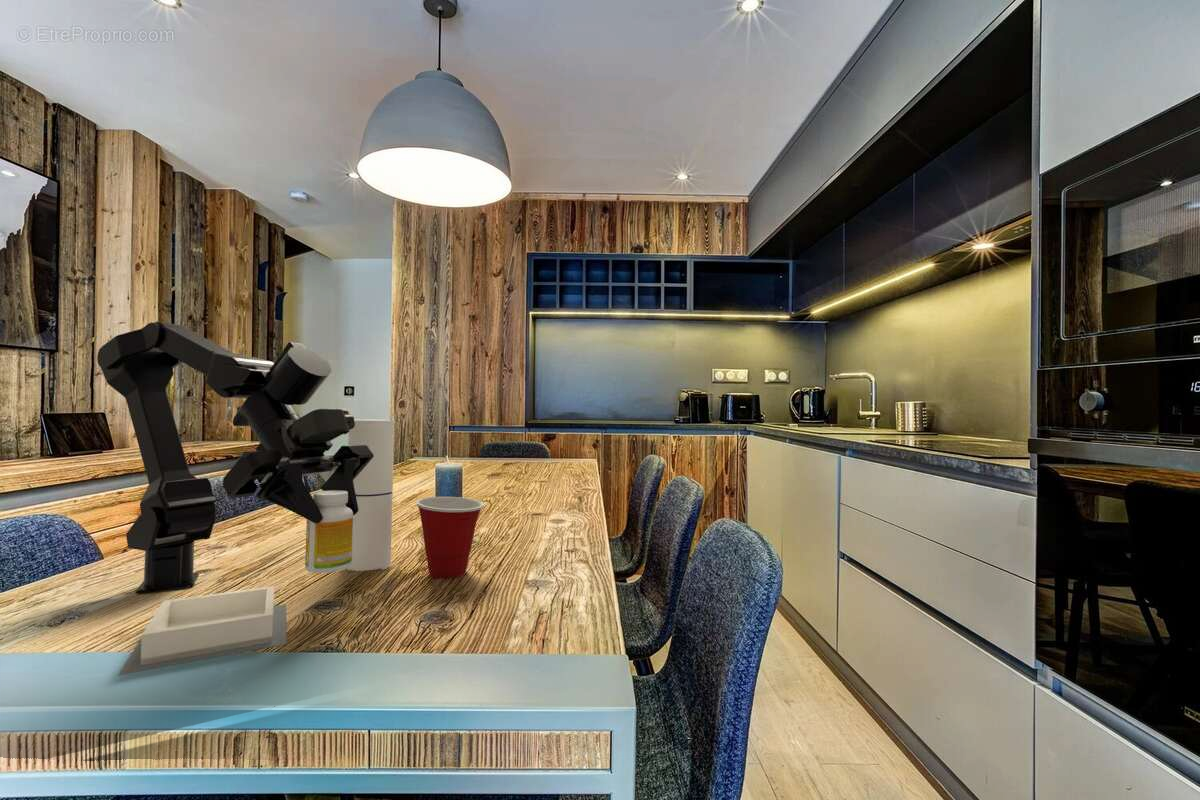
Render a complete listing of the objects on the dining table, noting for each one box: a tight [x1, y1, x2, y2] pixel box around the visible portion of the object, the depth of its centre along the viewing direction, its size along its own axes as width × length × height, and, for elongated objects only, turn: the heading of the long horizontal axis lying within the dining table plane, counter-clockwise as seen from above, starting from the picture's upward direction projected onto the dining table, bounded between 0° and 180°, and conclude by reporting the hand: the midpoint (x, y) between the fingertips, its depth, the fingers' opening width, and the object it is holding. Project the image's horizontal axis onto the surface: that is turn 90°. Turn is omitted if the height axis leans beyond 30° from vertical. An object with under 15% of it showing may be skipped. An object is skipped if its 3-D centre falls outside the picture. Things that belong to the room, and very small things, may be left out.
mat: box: [117, 604, 288, 676], centre depth 60 cm, size 14×14×1 cm
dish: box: [141, 585, 275, 665], centre depth 60 cm, size 11×11×3 cm
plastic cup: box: [416, 496, 485, 579], centre depth 86 cm, size 11×11×12 cm
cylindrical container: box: [344, 419, 395, 572], centre depth 89 cm, size 7×7×25 cm
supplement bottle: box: [304, 490, 353, 574], centre depth 68 cm, size 5×5×10 cm
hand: (338, 517), depth 68 cm, fingers closed on supplement bottle, 5 cm apart
